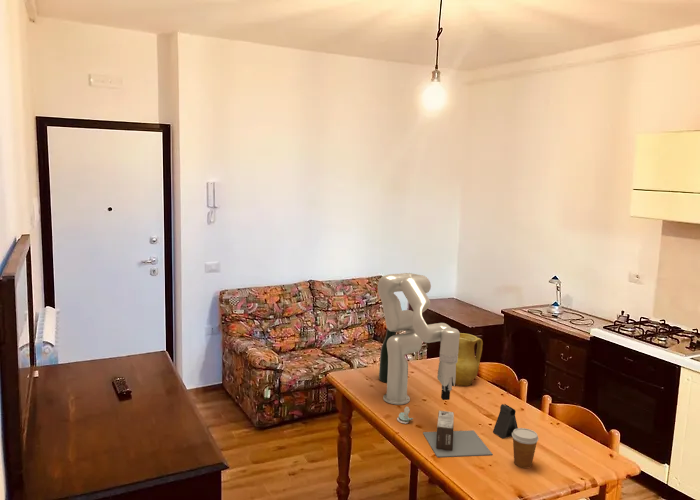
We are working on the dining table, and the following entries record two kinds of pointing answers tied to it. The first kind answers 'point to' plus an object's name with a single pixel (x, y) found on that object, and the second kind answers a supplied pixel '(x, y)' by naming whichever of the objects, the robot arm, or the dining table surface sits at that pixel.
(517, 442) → the disposable coffee cup
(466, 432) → the mat
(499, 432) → the phone stand
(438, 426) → the coffee box
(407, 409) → the pacifier
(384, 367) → the dark green bottle
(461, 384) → the pitcher
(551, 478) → the dining table surface
